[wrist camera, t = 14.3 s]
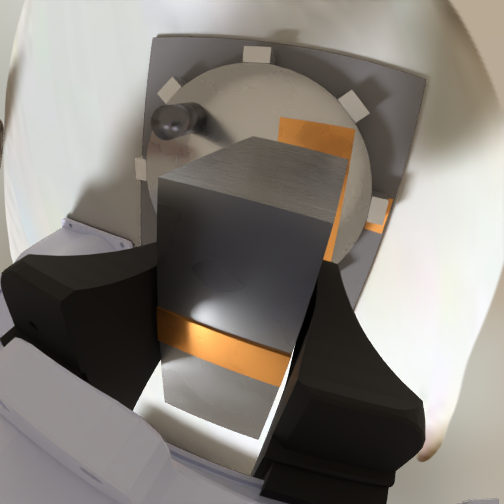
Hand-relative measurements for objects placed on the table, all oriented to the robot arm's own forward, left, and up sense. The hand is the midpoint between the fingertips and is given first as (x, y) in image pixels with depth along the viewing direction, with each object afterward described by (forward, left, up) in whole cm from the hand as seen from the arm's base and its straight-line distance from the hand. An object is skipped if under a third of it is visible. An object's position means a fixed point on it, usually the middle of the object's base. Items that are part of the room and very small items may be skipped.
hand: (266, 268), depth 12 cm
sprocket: (-4, 0, -10) cm, 11 cm away
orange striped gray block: (0, 0, -2) cm, 2 cm away
